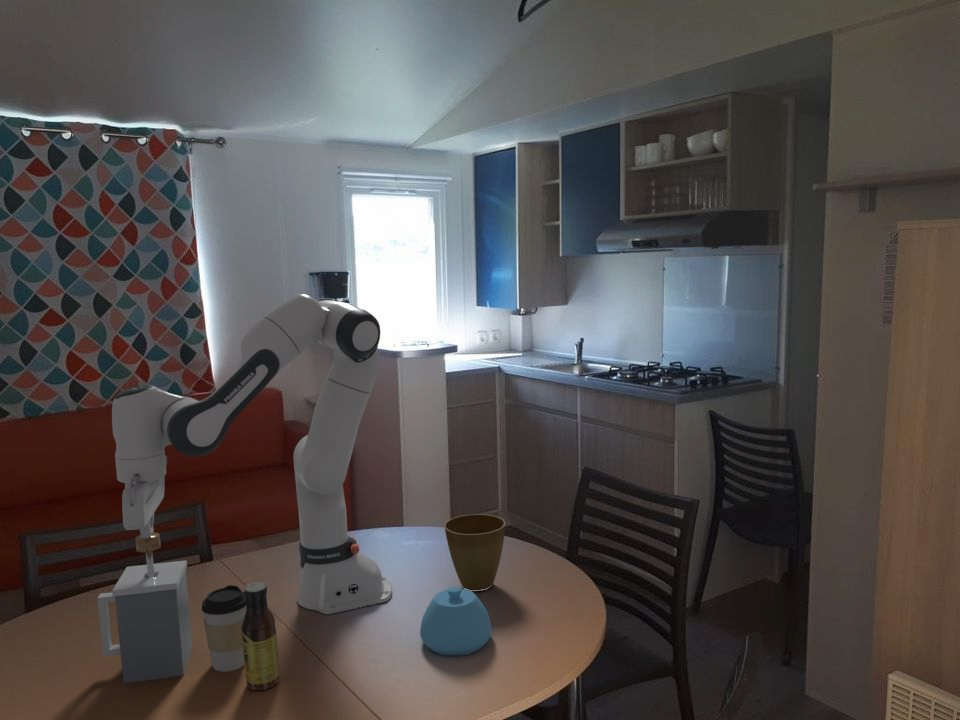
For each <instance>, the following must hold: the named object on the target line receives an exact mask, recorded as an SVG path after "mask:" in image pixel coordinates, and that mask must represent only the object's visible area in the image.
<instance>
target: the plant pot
mask: <svg viewBox="0 0 960 720" xmlns="http://www.w3.org/2000/svg"><path fill="white" fill-rule="evenodd" d="M443 527H444V533H445V537H446V542H447V546H448V550H449V555H450V557H451V561H452V564H453V567H454V569H455V572H456V575H457V577H458V580H459V582H460V584H461V587H462V586H463V587H464V588H466V589H469V590H481V589H486V588H488V587H490V586H491V585H492V586H493V585H494V583H495V580H496V576H497V574H498V573H497V572H498V568H499V565H500V562H501V557H502V552H503V546H504V539H505V532H506V521H505V519H503V518H502V517H499V516H497V515H492V514H484V513H474V514H464V515H459V516H456V517H453V518H450V519H449V520H447V521H446V522H445V523H444V526H443ZM463 587H462V588H463ZM464 588H463V589H464Z"/></svg>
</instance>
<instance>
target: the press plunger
mask: <svg viewBox="0 0 960 720" xmlns="http://www.w3.org/2000/svg"><path fill="white" fill-rule="evenodd" d="M160 536H161V535H160V533H158V532H153V534H152V535H151V537H150V538H148V539H142V538H141V534H138V535H137V536H136V537H135V547H136V550H135V551H136V552H138V553H145V559H146V565H147V571H148V578H149V577H155V575H154V564H155V563H154V555H153V552H155V551H157V550H159V549H160V548H161V545H162V543H161V537H160Z"/></svg>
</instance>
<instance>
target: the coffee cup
mask: <svg viewBox="0 0 960 720" xmlns="http://www.w3.org/2000/svg"><path fill="white" fill-rule="evenodd" d="M246 607H247V605H246V597H245V591H243V590H242V589H241V588H240V587H239V586H237V585H232V584H231V585H227V586H224V587H222V588H221V587H220V588H217V589H215V590H213V591H211V592H209V593H208V594H207V596H206V597H205V598H204V599H203V600H202V602H201V610H202V612H203V618H204V619H203V624H204V629H205V636H206V640H207V641H206V642H207V646H208V649H209V655H210V660H211V666H212V668H213V670H215V671H218V672H223V673H224V672H225V673H226V672H232V671H235V670H238V669H240V668H242V667H244V655H243V643H242V631H241V627H242V624H243V620H244V617H245V614H246Z"/></svg>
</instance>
